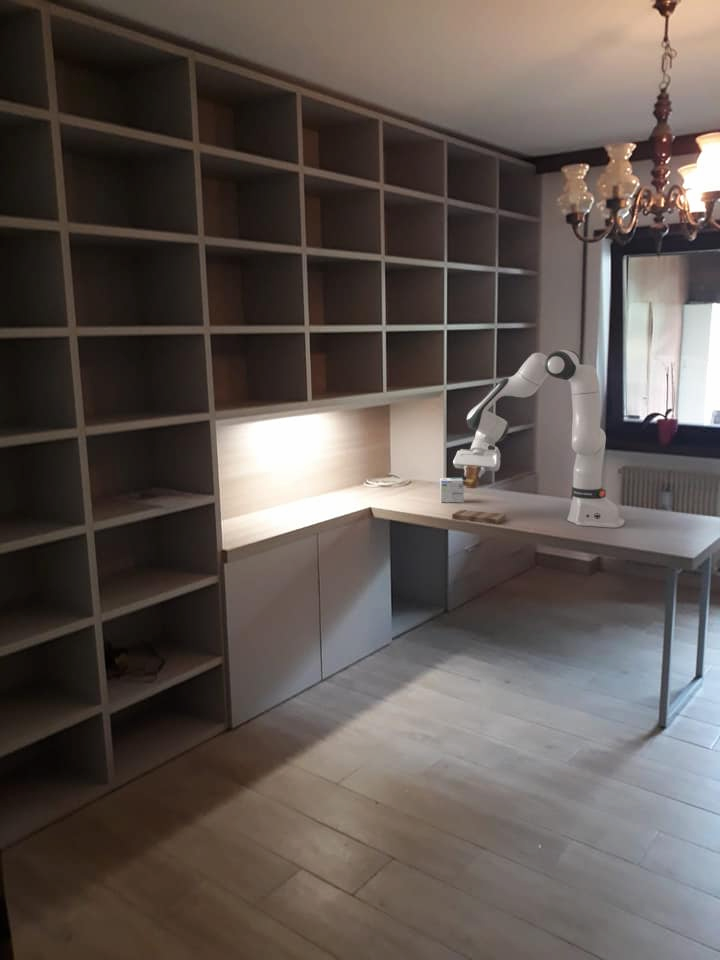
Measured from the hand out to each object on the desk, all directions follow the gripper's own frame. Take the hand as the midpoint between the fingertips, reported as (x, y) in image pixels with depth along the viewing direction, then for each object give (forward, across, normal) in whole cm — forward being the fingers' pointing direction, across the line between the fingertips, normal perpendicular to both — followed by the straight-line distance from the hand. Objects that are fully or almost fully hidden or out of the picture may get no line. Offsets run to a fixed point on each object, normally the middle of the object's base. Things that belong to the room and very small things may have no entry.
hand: (472, 476), depth 332 cm
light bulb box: (-2, -17, +26) cm, 31 cm away
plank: (+16, +6, +7) cm, 19 cm away
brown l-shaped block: (+5, 0, +2) cm, 5 cm away
